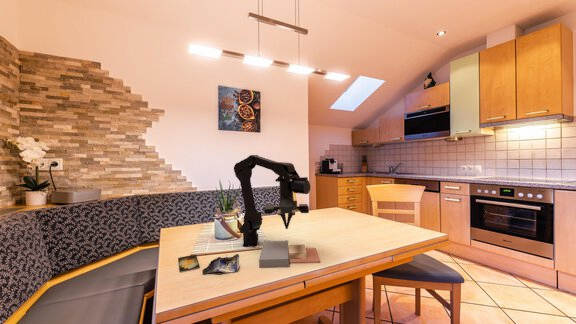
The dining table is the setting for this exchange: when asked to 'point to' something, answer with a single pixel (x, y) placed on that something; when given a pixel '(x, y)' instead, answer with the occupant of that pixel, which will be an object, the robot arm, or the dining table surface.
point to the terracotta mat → (308, 257)
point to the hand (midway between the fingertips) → (286, 228)
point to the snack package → (223, 264)
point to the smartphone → (188, 263)
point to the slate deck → (274, 254)
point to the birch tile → (297, 252)
